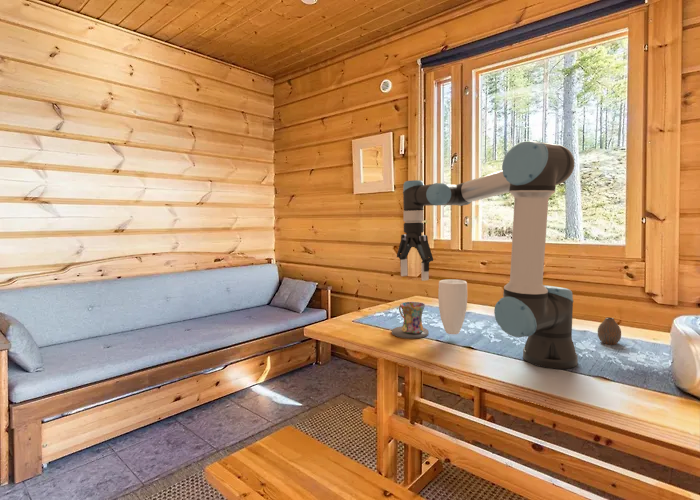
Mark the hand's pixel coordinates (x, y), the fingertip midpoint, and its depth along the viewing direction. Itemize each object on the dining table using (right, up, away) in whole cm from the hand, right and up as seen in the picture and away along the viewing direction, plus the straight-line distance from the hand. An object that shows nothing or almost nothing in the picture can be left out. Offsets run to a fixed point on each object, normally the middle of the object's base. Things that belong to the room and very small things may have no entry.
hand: (414, 278), depth 155 cm
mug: (-1, -21, +1) cm, 21 cm away
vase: (+65, -22, -14) cm, 70 cm away
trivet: (-1, -21, +1) cm, 21 cm away
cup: (+12, -22, -8) cm, 27 cm away
